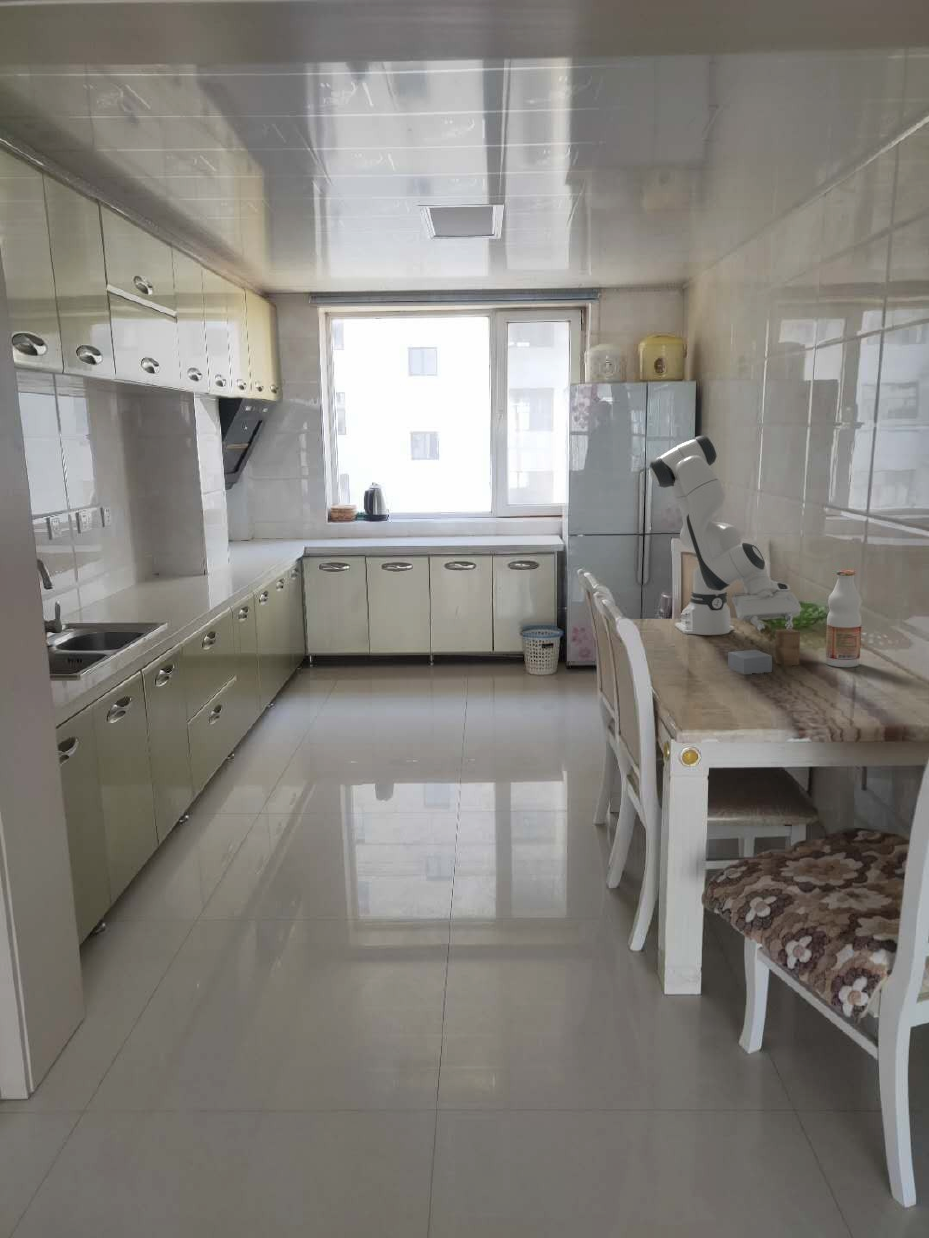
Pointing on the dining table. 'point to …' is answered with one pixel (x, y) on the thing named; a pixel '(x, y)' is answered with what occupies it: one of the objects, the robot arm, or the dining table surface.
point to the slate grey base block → (750, 662)
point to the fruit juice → (844, 622)
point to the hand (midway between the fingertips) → (776, 628)
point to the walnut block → (787, 647)
